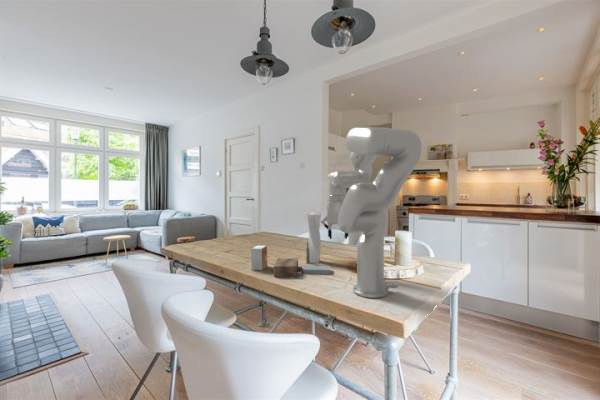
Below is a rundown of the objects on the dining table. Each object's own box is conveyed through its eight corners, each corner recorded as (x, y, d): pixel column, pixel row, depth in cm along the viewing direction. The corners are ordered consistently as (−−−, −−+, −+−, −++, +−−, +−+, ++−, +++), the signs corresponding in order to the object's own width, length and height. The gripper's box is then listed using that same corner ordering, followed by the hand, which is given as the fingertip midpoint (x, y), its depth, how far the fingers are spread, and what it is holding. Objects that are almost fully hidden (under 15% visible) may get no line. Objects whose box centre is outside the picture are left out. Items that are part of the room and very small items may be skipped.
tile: (330, 271, 127) (330, 266, 127) (329, 275, 121) (329, 270, 121) (304, 270, 129) (304, 265, 129) (303, 274, 123) (303, 269, 123)
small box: (262, 270, 128) (261, 248, 128) (251, 270, 130) (250, 248, 129) (267, 266, 136) (267, 245, 136) (257, 265, 137) (256, 245, 137)
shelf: (302, 267, 132) (302, 258, 132) (301, 276, 118) (301, 266, 118) (277, 267, 133) (277, 258, 132) (274, 276, 119) (273, 266, 118)
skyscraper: (306, 260, 148) (306, 209, 148) (321, 260, 148) (320, 208, 147) (306, 264, 140) (305, 210, 139) (321, 264, 139) (321, 210, 139)
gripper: (355, 198, 127) (355, 236, 127) (318, 199, 128) (319, 237, 128) (358, 199, 119) (358, 239, 120) (319, 199, 120) (319, 240, 121)
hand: (338, 238), depth 124 cm, fingers open, 6 cm apart
